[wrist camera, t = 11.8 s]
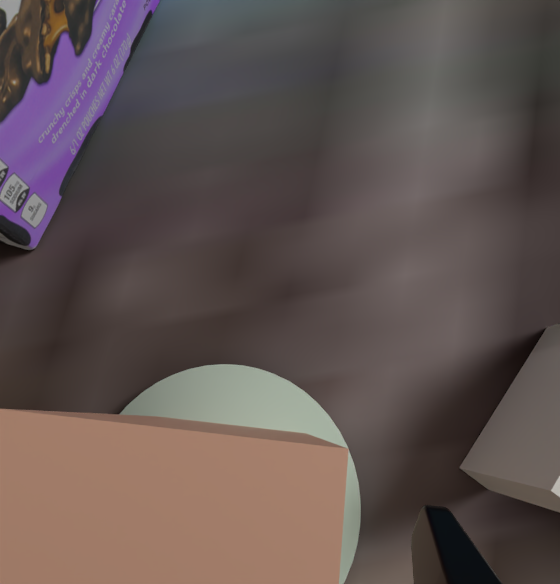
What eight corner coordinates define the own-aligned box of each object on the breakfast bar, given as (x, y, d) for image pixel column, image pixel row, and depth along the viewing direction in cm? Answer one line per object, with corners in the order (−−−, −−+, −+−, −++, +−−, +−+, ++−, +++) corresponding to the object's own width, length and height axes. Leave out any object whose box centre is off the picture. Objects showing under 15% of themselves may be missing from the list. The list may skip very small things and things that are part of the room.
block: (290, 600, 15) (316, 898, 6) (129, 581, 16) (-108, 843, 6) (306, 433, 17) (348, 449, 7) (157, 416, 17) (-3, 408, 7)
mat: (378, 627, 16) (385, 639, 15) (97, 673, 16) (86, 689, 15) (332, 351, 18) (335, 347, 17) (85, 385, 18) (74, 383, 17)
